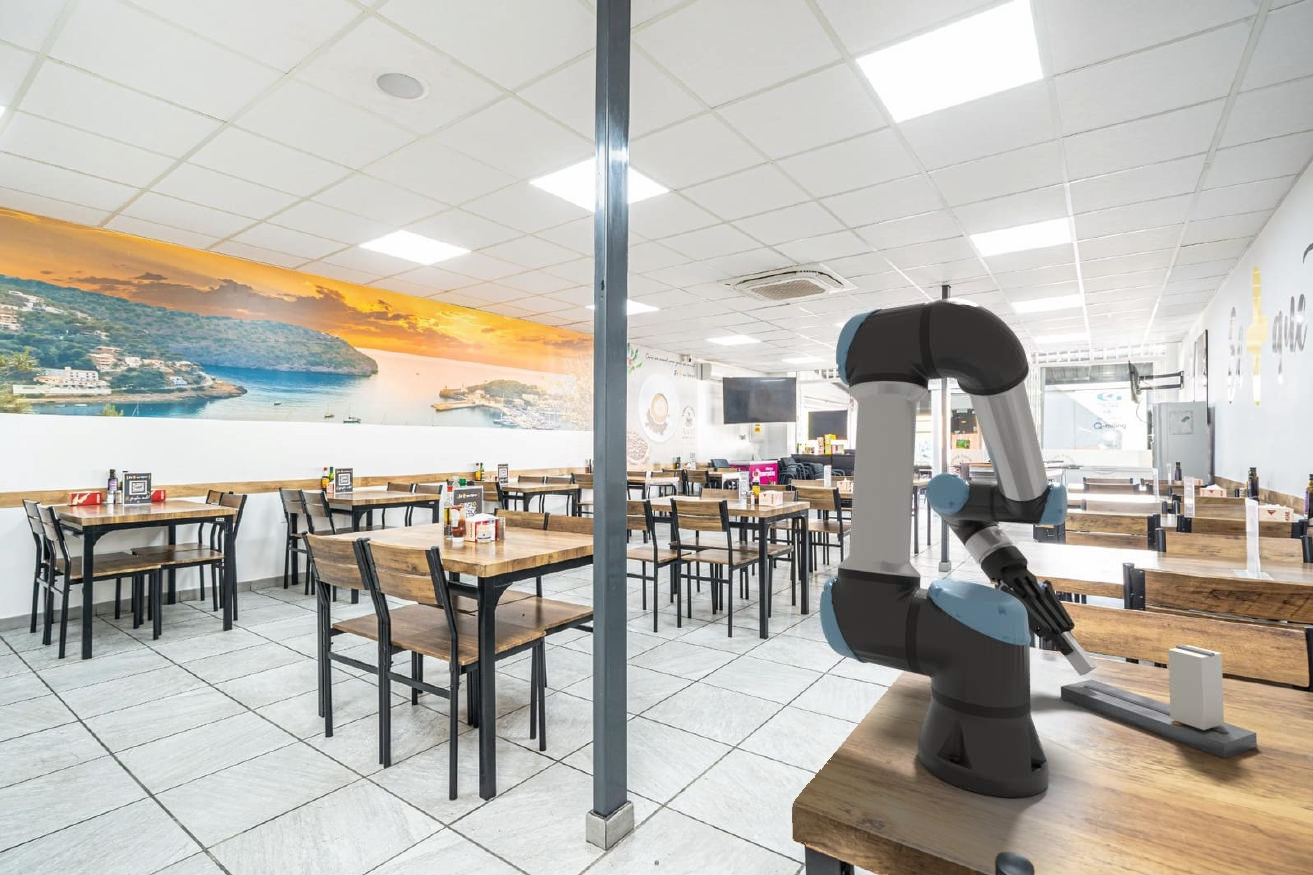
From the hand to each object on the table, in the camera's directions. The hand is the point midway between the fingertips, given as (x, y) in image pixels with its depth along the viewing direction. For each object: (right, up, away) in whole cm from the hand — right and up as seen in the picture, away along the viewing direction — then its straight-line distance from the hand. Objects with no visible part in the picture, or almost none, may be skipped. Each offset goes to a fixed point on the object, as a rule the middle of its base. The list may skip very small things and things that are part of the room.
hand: (1088, 671), depth 102 cm
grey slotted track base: (+4, -4, -8) cm, 10 cm away
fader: (+6, -2, -14) cm, 15 cm away
